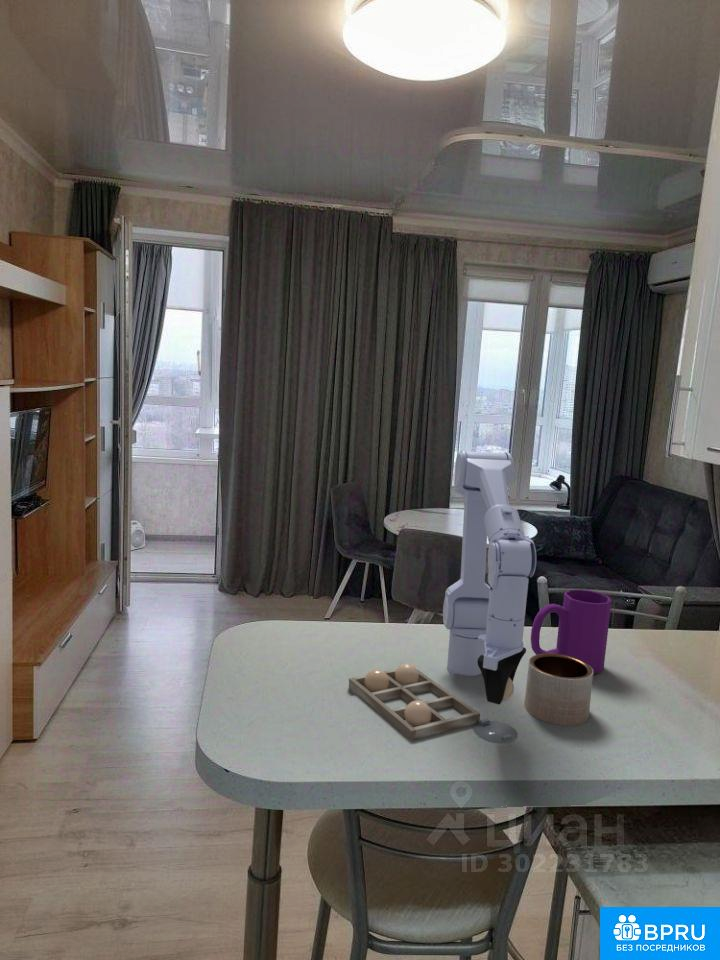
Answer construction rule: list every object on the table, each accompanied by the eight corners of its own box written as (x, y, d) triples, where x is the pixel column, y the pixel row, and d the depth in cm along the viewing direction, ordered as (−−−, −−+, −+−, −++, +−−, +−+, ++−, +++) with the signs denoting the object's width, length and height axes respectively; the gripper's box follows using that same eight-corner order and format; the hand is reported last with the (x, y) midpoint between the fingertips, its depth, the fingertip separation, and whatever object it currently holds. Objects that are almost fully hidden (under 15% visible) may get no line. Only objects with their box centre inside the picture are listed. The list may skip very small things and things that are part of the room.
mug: (611, 676, 139) (620, 604, 137) (536, 675, 137) (543, 602, 135) (591, 657, 148) (599, 589, 146) (521, 656, 146) (527, 587, 144)
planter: (569, 701, 127) (575, 651, 126) (600, 732, 117) (606, 678, 115) (513, 703, 125) (518, 653, 124) (539, 734, 115) (544, 680, 113)
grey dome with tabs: (496, 725, 117) (497, 713, 117) (526, 745, 111) (527, 733, 111) (463, 734, 113) (464, 722, 113) (492, 756, 107) (493, 743, 107)
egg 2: (409, 680, 130) (410, 657, 129) (422, 690, 126) (424, 667, 125) (389, 684, 128) (390, 661, 127) (402, 694, 124) (404, 671, 123)
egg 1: (380, 686, 127) (381, 663, 126) (393, 696, 123) (394, 673, 122) (359, 690, 125) (360, 667, 124) (371, 701, 121) (373, 677, 120)
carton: (410, 680, 132) (412, 665, 131) (478, 730, 115) (480, 713, 114) (348, 694, 125) (349, 678, 125) (410, 749, 108) (411, 731, 108)
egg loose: (499, 691, 114) (502, 665, 113) (518, 703, 110) (520, 677, 110) (478, 696, 112) (480, 670, 111) (496, 708, 108) (499, 682, 107)
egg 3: (420, 718, 116) (422, 693, 115) (435, 730, 112) (437, 705, 111) (398, 723, 114) (399, 698, 113) (413, 736, 110) (415, 710, 109)
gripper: (494, 597, 117) (487, 673, 119) (466, 623, 104) (459, 707, 106) (536, 605, 114) (528, 683, 116) (513, 633, 101) (504, 720, 103)
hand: (498, 695), depth 111 cm, fingers closed on egg loose, 4 cm apart
